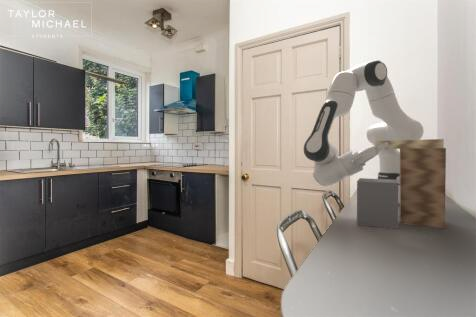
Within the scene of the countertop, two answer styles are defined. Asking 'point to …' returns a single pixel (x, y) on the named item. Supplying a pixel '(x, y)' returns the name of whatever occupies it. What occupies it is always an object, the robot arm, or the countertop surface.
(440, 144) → the bar
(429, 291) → the countertop surface
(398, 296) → the countertop surface
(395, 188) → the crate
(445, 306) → the countertop surface
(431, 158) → the pedestal
